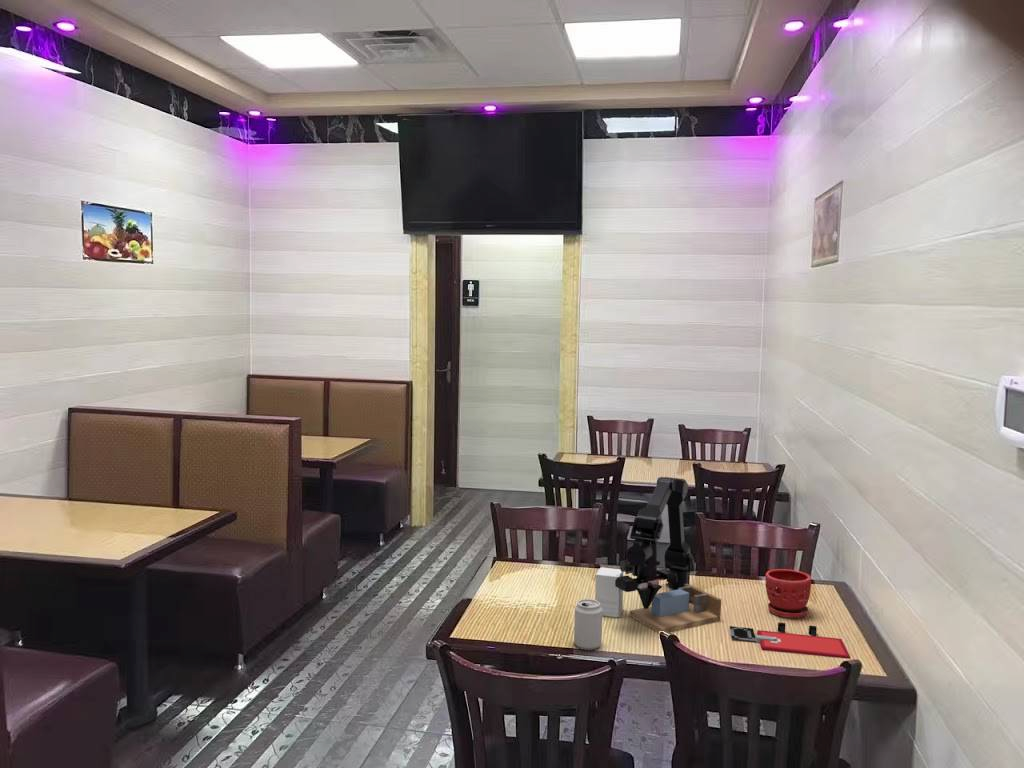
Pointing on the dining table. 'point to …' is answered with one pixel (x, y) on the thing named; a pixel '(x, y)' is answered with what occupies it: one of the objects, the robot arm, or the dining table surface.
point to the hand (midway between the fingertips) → (645, 608)
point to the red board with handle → (793, 641)
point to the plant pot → (788, 592)
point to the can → (588, 624)
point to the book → (670, 603)
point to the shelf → (700, 612)
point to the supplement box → (609, 591)
